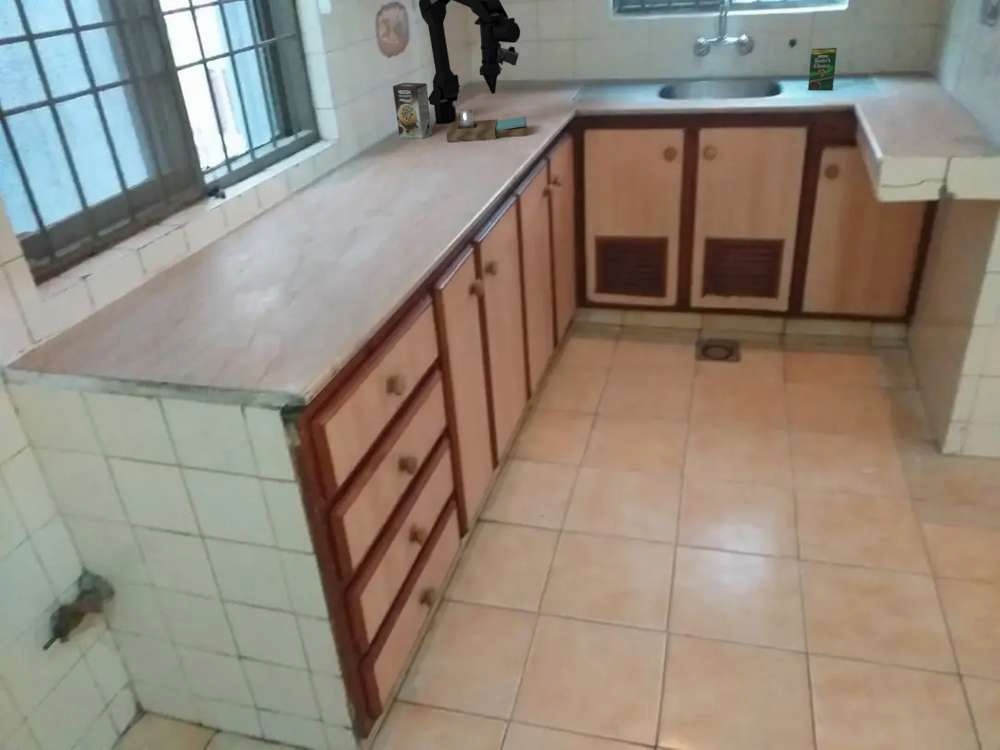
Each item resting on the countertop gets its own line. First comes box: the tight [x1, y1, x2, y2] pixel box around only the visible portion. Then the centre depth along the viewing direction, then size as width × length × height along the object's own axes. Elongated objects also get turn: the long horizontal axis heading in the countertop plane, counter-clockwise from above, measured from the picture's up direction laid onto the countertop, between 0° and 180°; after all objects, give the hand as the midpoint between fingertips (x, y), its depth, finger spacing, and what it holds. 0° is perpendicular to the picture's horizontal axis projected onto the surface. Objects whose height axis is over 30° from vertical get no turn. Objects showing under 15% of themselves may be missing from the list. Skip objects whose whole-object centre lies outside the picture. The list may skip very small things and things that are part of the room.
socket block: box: [446, 118, 528, 143], centre depth 256 cm, size 24×14×3 cm, turn 87°
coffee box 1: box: [392, 82, 433, 140], centre depth 258 cm, size 9×6×16 cm
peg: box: [459, 108, 475, 129], centre depth 255 cm, size 4×4×8 cm
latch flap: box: [496, 115, 527, 130], centre depth 255 cm, size 9×10×1 cm
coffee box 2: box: [807, 47, 837, 91], centre depth 272 cm, size 8×3×13 cm, turn 62°
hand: (493, 93), depth 257 cm, fingers closed
